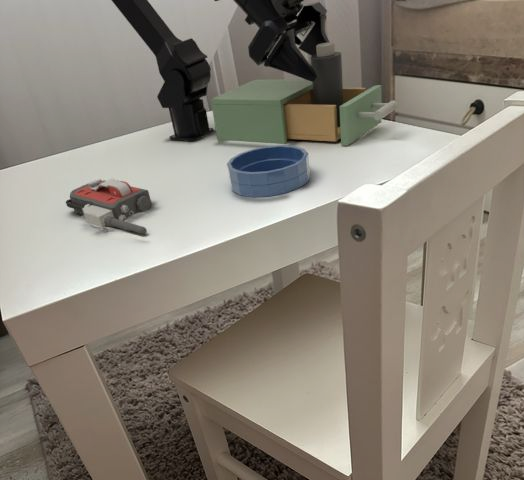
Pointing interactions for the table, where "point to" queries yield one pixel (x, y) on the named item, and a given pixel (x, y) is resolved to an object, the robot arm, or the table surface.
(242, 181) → the bowl
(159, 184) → the table surface
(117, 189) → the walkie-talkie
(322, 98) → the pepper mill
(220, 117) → the cabinet
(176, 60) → the robot arm
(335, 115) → the drawer
